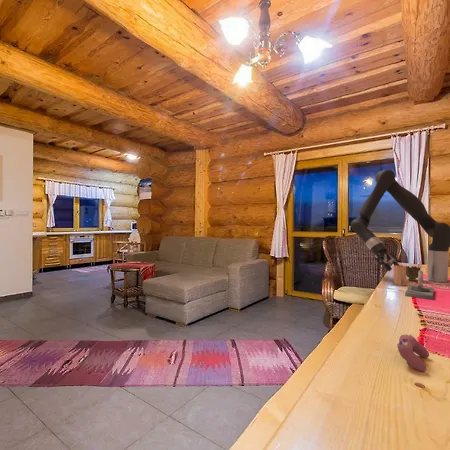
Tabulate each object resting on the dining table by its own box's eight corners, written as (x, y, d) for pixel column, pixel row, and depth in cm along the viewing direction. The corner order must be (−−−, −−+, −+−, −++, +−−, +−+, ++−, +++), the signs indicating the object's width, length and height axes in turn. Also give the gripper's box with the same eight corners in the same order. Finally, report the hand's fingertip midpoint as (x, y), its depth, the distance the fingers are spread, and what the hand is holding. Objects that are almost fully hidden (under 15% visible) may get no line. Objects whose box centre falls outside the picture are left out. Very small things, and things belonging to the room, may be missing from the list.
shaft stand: (409, 287, 144) (410, 266, 144) (433, 290, 138) (434, 268, 138) (405, 295, 128) (405, 272, 128) (432, 299, 122) (433, 274, 122)
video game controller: (411, 358, 73) (397, 331, 75) (431, 356, 70) (416, 327, 72) (406, 375, 65) (391, 344, 67) (428, 372, 63) (411, 340, 64)
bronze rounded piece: (406, 281, 159) (407, 267, 159) (402, 278, 166) (403, 265, 166) (422, 282, 157) (422, 268, 156) (417, 279, 164) (417, 266, 163)
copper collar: (397, 283, 154) (397, 264, 154) (408, 285, 150) (408, 266, 149) (391, 284, 152) (391, 265, 152) (401, 286, 147) (402, 267, 147)
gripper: (372, 242, 157) (392, 266, 147) (388, 241, 163) (408, 264, 154) (363, 251, 162) (382, 274, 152) (379, 250, 168) (398, 272, 158)
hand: (395, 269), depth 153 cm, fingers open, 8 cm apart
